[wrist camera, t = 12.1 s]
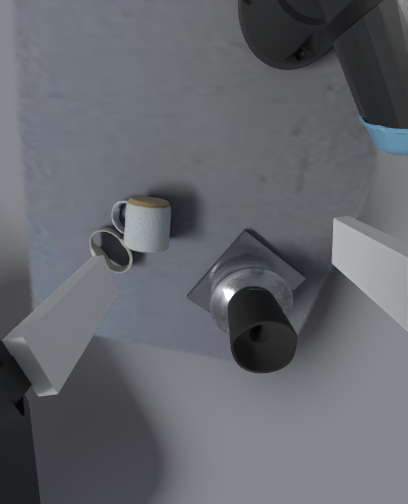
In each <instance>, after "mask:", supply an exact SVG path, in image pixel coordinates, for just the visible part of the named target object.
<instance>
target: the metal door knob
mask: <svg viewBox="0 0 408 504" xmlns="http://www.w3.org/2000/svg"><path fill="white" fill-rule="evenodd" d="M305 279H306V278H305V277H304V275H302V274H301V273H300V272H298V271H297V270H296V269H295V268H293V267H292V266H291V265H289V264H288V263H287V262H286V261H284V260H283V259H282V258H281V257H279V256H278V255H277V254H275V253H274V252H273V251H272V250H270V249H269V248H268V247H267V246H265V245H264V244H263V243H261V242H260V241H259V240H258V239H256V238H255V237H254V236H253V235H251V234H250V233H249V232H247V231H246V230H245V229H244V231H243V232H242V233H241V234H240V235H239V236H238V237H237V239H236V240H235V241H234V242H233V243H232V244H231V245H230V247H229V248H228V249H227V250H226V251H225V252H224V253H223V255H222V256H221V257H220V258H219V259H218V260H217V261H216V263H215V264H214V265H213V266H212V267H211V268H210V269H209V271H208V272H207V273H206V274H205V275H204V276H203V277H202V279H201V280H200V281H199V282H198V283H197V284H196V285H195V287H194V288H193V289H192V290H191V291H190V292H189V293H188V295H187V298H188V299H189V300H191V301H193V302H194V303H196V304H197V305H199V306H200V307H202V308H203V309H205V310H207V311H208V312H210V313H211V316H212V319H213V321H214V322H215V324H216V325H217V326H218V327H219V328H220V329H221V330H222V331H224V332H225V333H227V334H229V324H228V311H227V308H228V303H229V300H230V298H231V297H232V296H233V295H234V294H235V293H236V292H237V291H239V290H240V289H243V288H245V287H250V286H257V287H262V288H265V289H267V290H268V291H270V292H271V293H272V294H273V296H274V297H275V299H276V300H277V302H278V303H279V305H280V307H281V308H282V310H283V312H284V313H285V315H286V317H287V319H288V317H289V316H290V314H291V311H292V308H293V294H292V291H293V290H295V289H296V288H297V287H298V286H299V285H300V284H301V283H302V282H303V281H304V280H305ZM229 335H230V334H229Z"/></svg>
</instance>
